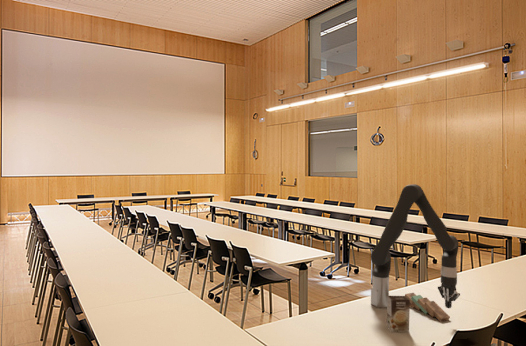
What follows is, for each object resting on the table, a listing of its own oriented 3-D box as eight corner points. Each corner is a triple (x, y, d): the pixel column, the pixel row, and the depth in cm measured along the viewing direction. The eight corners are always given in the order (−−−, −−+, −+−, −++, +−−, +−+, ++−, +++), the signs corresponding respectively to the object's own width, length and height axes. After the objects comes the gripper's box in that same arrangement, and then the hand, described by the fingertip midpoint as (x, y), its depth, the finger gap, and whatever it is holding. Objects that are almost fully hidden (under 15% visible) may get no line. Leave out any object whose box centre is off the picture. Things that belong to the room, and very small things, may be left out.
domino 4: (433, 314, 198) (418, 298, 208) (432, 317, 199) (417, 301, 209) (442, 313, 200) (426, 297, 210) (440, 315, 201) (425, 300, 211)
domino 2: (413, 306, 211) (399, 298, 223) (413, 309, 211) (399, 302, 223) (422, 304, 213) (407, 297, 225) (422, 308, 213) (407, 300, 225)
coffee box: (391, 332, 181) (391, 300, 180) (386, 326, 187) (386, 295, 187) (409, 332, 181) (410, 299, 181) (404, 326, 188) (404, 295, 187)
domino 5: (441, 318, 193) (425, 302, 203) (440, 321, 194) (424, 305, 204) (450, 316, 195) (433, 300, 205) (448, 319, 196) (432, 303, 206)
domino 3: (426, 311, 202) (412, 296, 212) (425, 314, 203) (411, 298, 213) (435, 310, 204) (420, 294, 215) (433, 312, 205) (419, 297, 215)
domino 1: (419, 307, 207) (405, 293, 218) (418, 310, 208) (404, 296, 218) (427, 306, 209) (413, 292, 220) (426, 309, 210) (412, 295, 220)
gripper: (433, 271, 196) (432, 304, 197) (453, 279, 184) (453, 313, 184) (444, 270, 199) (443, 302, 199) (465, 277, 186) (464, 311, 187)
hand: (448, 307), depth 192 cm, fingers closed
